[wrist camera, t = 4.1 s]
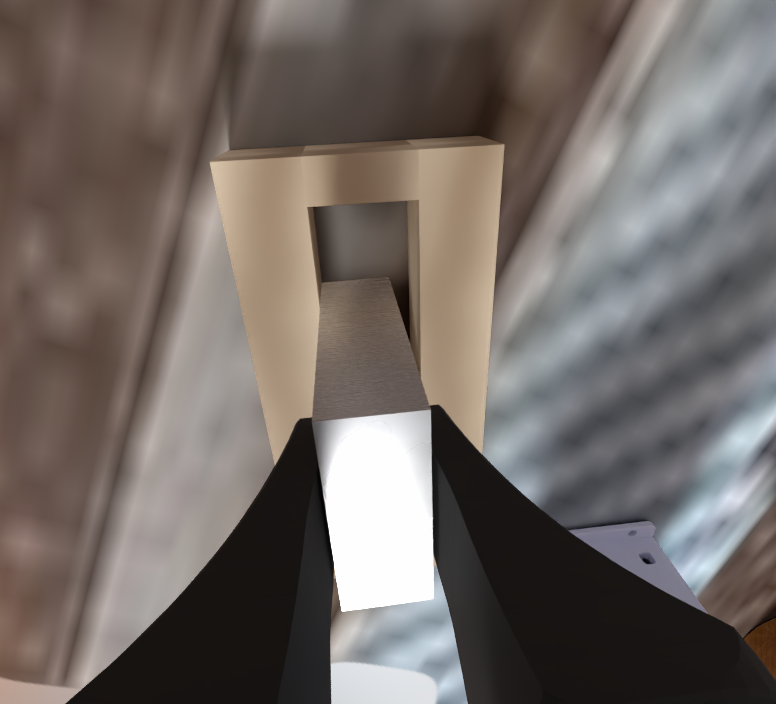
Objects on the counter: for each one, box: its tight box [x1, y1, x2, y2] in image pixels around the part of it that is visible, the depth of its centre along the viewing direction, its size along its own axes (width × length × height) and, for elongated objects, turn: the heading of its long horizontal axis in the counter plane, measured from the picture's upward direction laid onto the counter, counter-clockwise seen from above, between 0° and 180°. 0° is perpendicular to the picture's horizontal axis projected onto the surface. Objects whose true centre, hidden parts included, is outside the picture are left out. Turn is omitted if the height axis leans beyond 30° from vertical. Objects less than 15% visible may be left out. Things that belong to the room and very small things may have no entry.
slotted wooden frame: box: [210, 136, 504, 578], centre depth 21 cm, size 9×20×3 cm, turn 3°
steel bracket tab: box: [312, 277, 434, 611], centre depth 12 cm, size 2×5×7 cm, turn 3°
